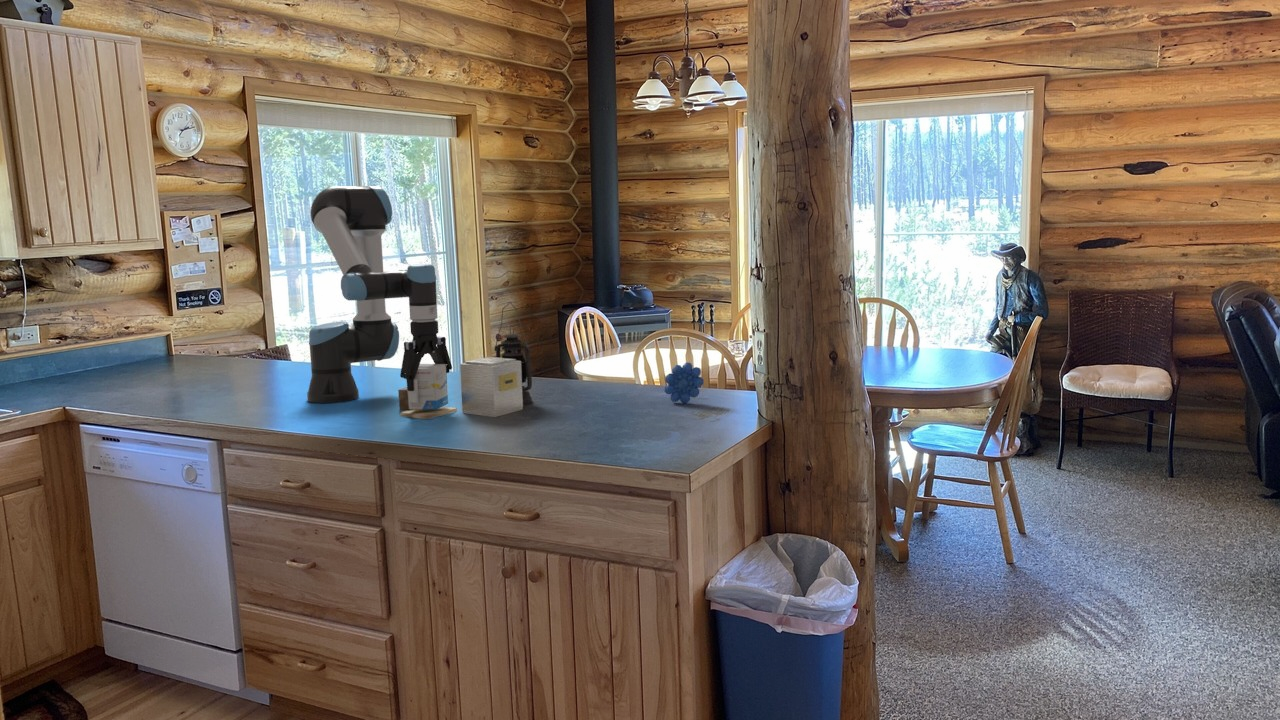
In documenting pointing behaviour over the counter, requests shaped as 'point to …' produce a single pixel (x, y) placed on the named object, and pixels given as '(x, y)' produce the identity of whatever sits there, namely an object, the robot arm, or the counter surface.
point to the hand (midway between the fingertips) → (428, 398)
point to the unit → (491, 386)
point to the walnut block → (403, 399)
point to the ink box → (431, 387)
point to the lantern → (517, 357)
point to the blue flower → (683, 382)
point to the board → (428, 412)
